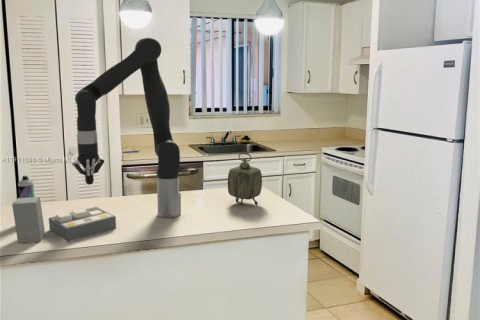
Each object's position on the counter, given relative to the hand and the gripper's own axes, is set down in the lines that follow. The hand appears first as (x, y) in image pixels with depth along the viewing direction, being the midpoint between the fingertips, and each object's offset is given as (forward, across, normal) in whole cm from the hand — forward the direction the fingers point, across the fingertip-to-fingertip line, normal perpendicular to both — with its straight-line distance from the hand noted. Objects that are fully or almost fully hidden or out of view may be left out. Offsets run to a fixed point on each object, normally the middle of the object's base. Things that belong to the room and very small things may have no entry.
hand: (89, 184), depth 176 cm
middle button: (+13, -5, 0) cm, 14 cm away
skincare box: (+18, -24, +1) cm, 30 cm away
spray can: (+18, -18, +19) cm, 31 cm away
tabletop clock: (+17, +65, -23) cm, 71 cm away
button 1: (+13, -11, 0) cm, 17 cm away
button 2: (+15, +2, 0) cm, 15 cm away
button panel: (+17, -5, -2) cm, 18 cm away
